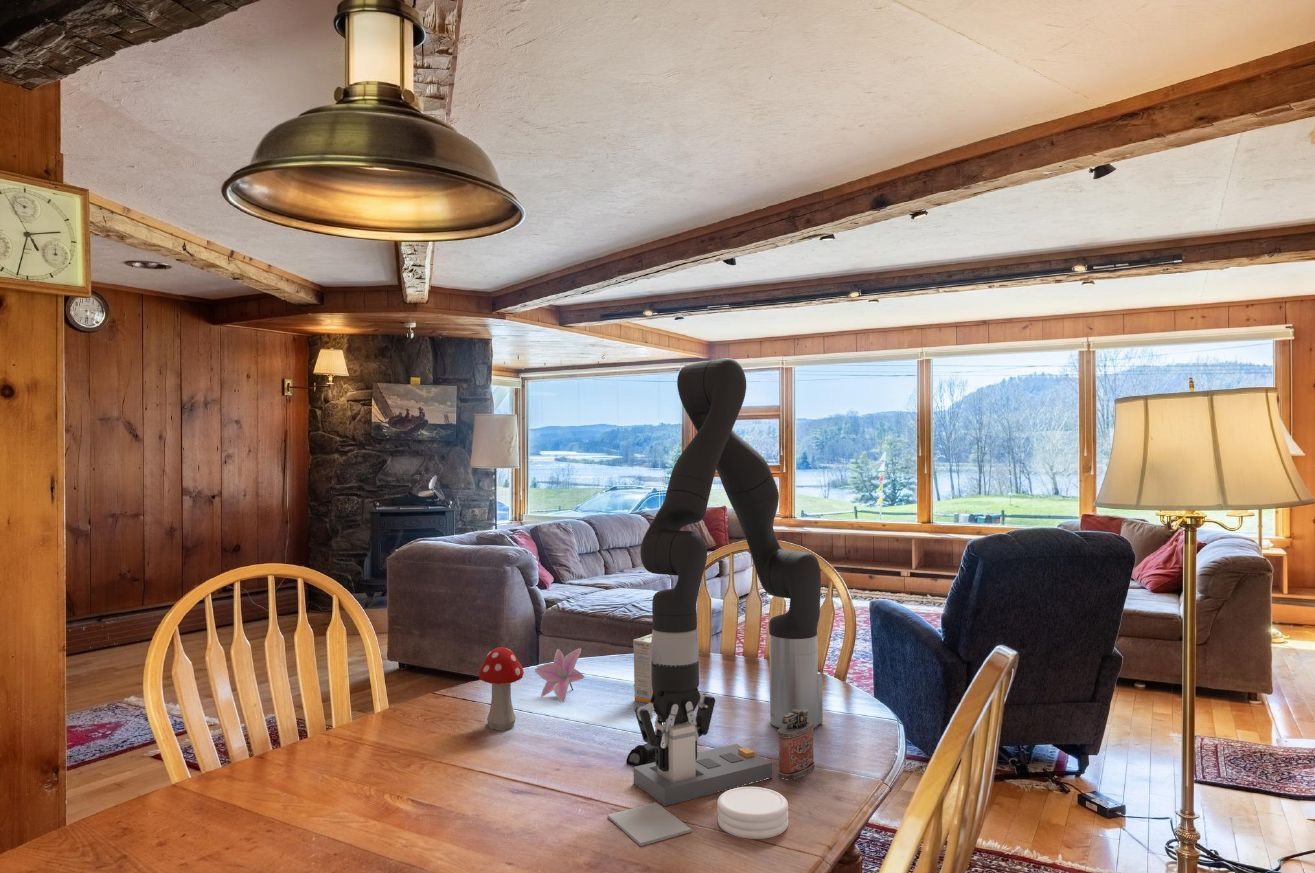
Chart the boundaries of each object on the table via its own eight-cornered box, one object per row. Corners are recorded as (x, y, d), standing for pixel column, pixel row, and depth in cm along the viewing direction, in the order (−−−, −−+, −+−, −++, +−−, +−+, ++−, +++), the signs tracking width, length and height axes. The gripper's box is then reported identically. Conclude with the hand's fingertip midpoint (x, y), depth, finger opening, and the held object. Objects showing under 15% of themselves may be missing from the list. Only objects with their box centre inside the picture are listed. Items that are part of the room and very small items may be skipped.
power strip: (736, 758, 139) (736, 739, 139) (772, 778, 130) (772, 758, 130) (633, 782, 129) (633, 762, 129) (665, 806, 120) (664, 784, 120)
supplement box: (655, 691, 179) (655, 631, 179) (673, 694, 176) (672, 634, 177) (633, 700, 172) (632, 638, 173) (651, 704, 170) (650, 641, 170)
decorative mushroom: (530, 729, 155) (529, 650, 155) (485, 736, 151) (485, 655, 152) (515, 714, 164) (515, 640, 164) (473, 721, 160) (472, 645, 161)
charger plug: (679, 779, 130) (678, 716, 131) (696, 790, 126) (695, 725, 126) (657, 784, 128) (656, 720, 129) (673, 796, 124) (672, 730, 124)
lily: (533, 693, 182) (522, 661, 178) (578, 666, 187) (568, 634, 183) (557, 723, 173) (546, 690, 169) (603, 694, 178) (594, 661, 174)
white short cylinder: (702, 824, 115) (702, 799, 115) (747, 803, 122) (747, 779, 122) (758, 848, 108) (758, 821, 108) (802, 823, 115) (802, 798, 115)
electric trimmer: (697, 745, 147) (697, 727, 147) (641, 770, 135) (641, 751, 135) (681, 740, 149) (680, 723, 149) (624, 765, 137) (624, 746, 137)
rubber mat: (655, 805, 121) (655, 802, 121) (691, 831, 112) (691, 828, 112) (607, 817, 117) (607, 814, 117) (640, 846, 108) (640, 843, 108)
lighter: (802, 762, 137) (801, 703, 137) (819, 767, 134) (818, 707, 135) (773, 776, 131) (772, 714, 131) (790, 782, 129) (789, 718, 129)
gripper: (700, 646, 134) (701, 750, 134) (623, 658, 127) (625, 767, 127) (725, 656, 128) (727, 765, 128) (646, 668, 121) (648, 784, 120)
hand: (676, 766), depth 127 cm, fingers open, 4 cm apart
